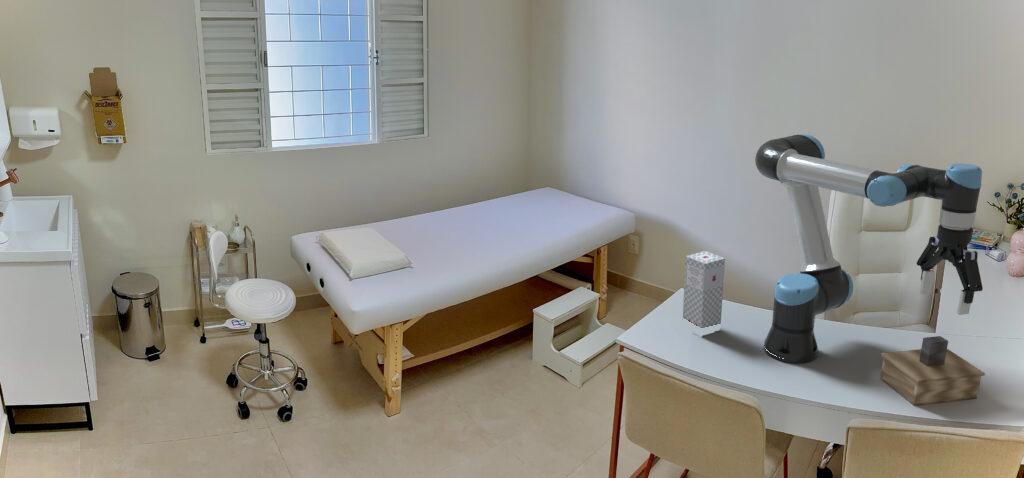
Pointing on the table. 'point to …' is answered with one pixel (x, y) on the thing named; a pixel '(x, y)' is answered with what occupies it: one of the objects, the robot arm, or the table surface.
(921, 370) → the lid
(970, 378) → the wooden box
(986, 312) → the table surface
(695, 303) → the box
